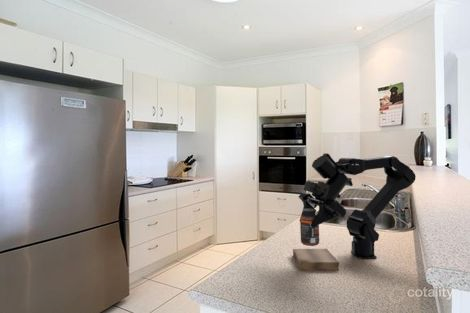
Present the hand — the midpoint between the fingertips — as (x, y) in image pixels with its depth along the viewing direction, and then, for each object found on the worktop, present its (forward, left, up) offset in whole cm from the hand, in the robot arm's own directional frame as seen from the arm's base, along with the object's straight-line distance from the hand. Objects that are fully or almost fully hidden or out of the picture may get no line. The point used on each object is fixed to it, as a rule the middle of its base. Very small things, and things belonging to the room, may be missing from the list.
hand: (305, 224), depth 92 cm
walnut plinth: (-3, -2, -14) cm, 14 cm away
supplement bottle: (-1, 0, -7) cm, 7 cm away
